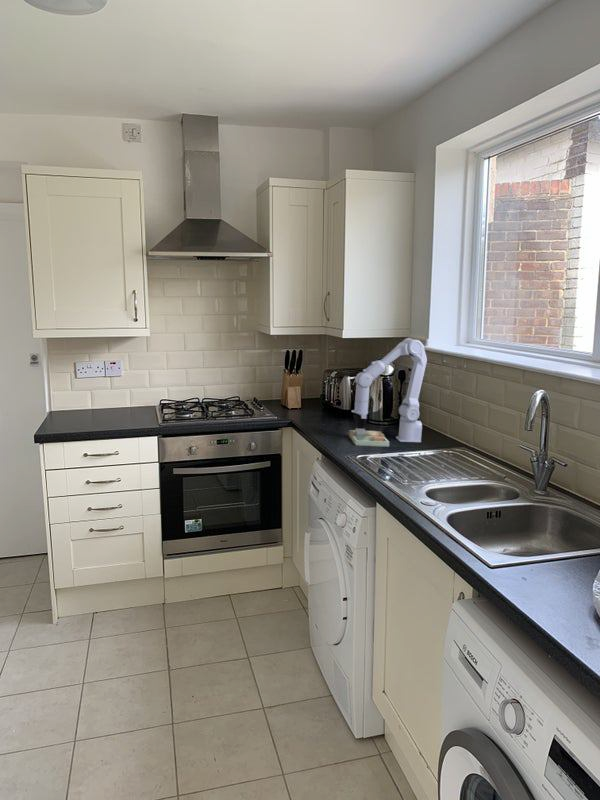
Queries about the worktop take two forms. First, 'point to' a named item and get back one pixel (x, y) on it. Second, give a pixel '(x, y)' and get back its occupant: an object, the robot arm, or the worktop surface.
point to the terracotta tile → (377, 438)
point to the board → (368, 433)
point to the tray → (369, 441)
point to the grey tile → (360, 433)
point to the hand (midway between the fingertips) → (359, 431)
